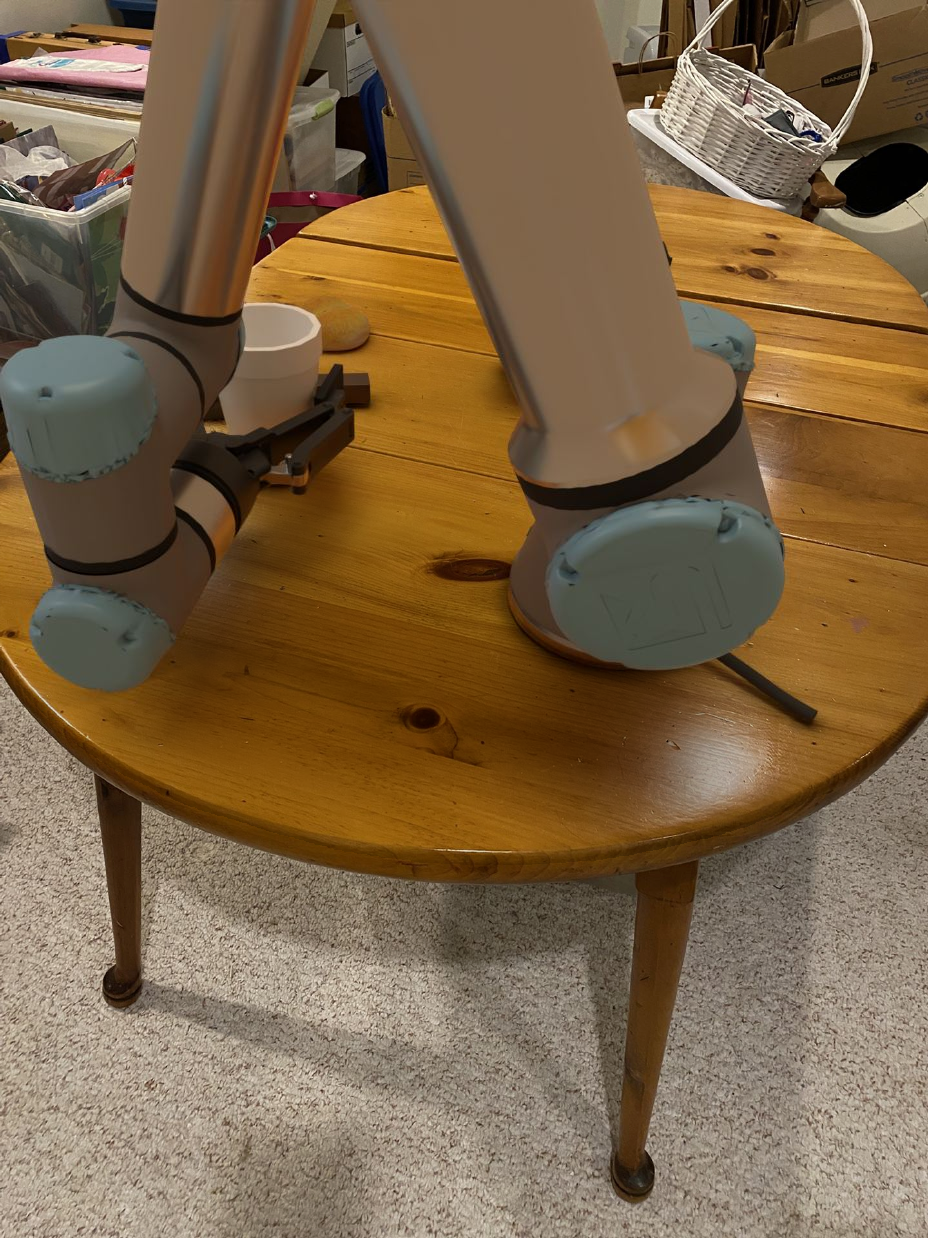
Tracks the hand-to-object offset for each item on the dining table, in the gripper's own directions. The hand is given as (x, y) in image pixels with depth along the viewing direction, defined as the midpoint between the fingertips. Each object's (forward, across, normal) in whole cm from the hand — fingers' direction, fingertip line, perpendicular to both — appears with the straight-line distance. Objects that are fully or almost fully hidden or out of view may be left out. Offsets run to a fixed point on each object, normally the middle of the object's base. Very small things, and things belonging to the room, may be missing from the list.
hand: (283, 371), depth 81 cm
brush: (+7, -4, -7) cm, 11 cm away
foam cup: (-4, 0, -7) cm, 8 cm away
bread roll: (+24, -2, -8) cm, 25 cm away
